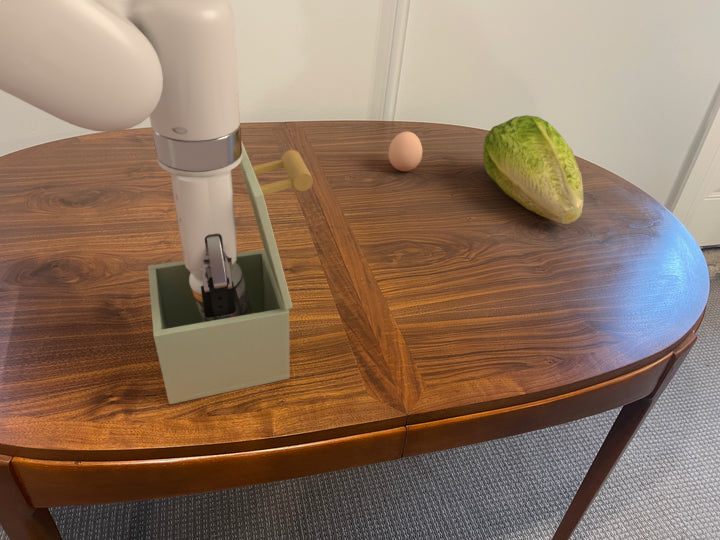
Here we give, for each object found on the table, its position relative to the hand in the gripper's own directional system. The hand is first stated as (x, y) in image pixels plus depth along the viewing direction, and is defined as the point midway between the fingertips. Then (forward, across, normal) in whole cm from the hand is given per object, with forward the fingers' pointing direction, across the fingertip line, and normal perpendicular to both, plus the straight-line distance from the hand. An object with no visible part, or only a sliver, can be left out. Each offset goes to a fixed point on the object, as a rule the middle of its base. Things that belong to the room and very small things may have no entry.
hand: (216, 292), depth 59 cm
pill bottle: (+5, 0, +1) cm, 5 cm away
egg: (+10, -40, +41) cm, 58 cm away
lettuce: (+10, -24, +60) cm, 66 cm away
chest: (+10, 0, 0) cm, 10 cm away
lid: (-8, 0, +5) cm, 10 cm away
